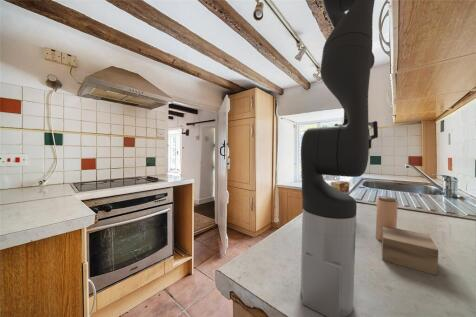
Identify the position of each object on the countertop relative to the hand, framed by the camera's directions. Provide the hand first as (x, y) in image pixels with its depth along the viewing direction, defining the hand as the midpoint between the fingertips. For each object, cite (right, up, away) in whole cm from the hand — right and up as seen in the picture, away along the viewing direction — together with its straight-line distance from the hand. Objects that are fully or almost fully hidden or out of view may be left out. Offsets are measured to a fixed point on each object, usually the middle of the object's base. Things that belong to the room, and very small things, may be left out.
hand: (354, 150), depth 70 cm
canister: (+4, -30, -11) cm, 32 cm away
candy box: (+1, -29, +12) cm, 31 cm away
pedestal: (+1, -30, -21) cm, 37 cm away
